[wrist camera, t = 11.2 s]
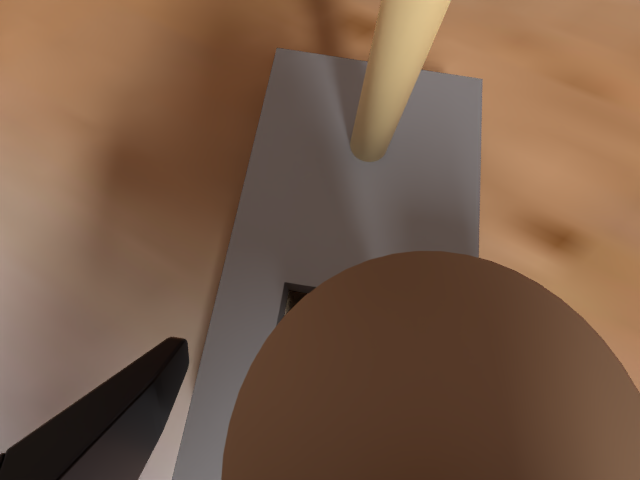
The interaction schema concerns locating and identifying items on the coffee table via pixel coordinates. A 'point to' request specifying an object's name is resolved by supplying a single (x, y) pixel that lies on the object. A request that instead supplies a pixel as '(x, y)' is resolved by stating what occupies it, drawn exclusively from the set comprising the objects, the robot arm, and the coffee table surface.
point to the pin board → (337, 195)
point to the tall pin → (433, 382)
